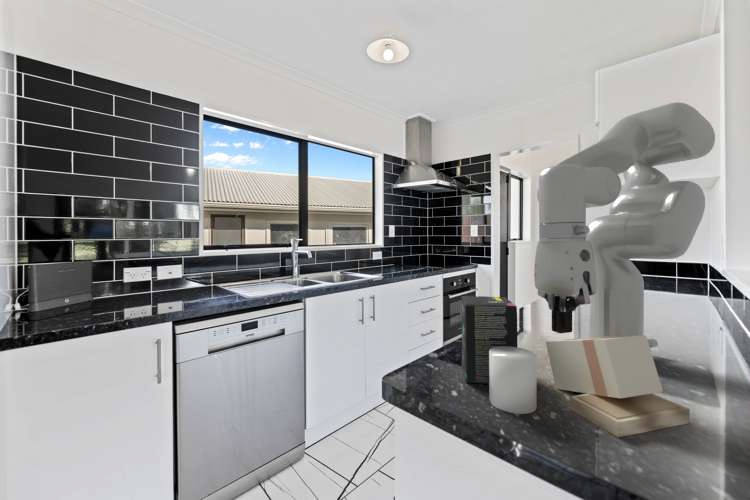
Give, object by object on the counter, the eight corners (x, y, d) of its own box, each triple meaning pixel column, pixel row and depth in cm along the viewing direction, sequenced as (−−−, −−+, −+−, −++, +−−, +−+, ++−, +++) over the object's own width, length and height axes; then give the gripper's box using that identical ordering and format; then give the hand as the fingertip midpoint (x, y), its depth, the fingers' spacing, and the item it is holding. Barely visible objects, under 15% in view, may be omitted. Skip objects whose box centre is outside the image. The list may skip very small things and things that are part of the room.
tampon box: (519, 388, 57) (519, 305, 56) (465, 384, 59) (464, 304, 58) (506, 365, 67) (506, 295, 67) (461, 362, 69) (461, 294, 69)
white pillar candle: (516, 390, 56) (516, 344, 56) (547, 410, 49) (547, 358, 49) (480, 395, 54) (480, 348, 54) (507, 416, 47) (507, 363, 47)
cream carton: (581, 337, 60) (645, 335, 49) (592, 383, 58) (663, 391, 47) (545, 341, 58) (604, 339, 47) (556, 388, 56) (620, 398, 45)
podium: (634, 398, 53) (634, 385, 52) (689, 423, 45) (689, 407, 45) (569, 409, 49) (569, 395, 49) (617, 437, 42) (617, 421, 42)
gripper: (617, 232, 53) (617, 341, 54) (546, 234, 68) (546, 320, 68) (581, 232, 51) (581, 346, 52) (516, 235, 66) (517, 323, 66)
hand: (562, 331), depth 60 cm, fingers closed
